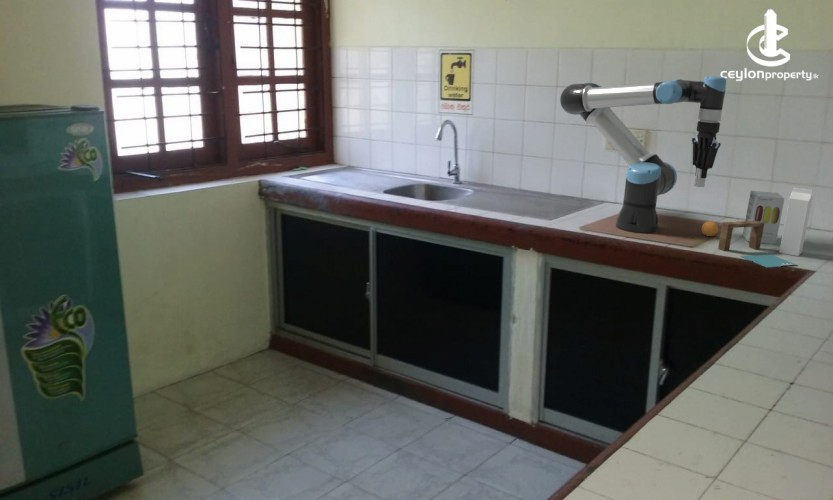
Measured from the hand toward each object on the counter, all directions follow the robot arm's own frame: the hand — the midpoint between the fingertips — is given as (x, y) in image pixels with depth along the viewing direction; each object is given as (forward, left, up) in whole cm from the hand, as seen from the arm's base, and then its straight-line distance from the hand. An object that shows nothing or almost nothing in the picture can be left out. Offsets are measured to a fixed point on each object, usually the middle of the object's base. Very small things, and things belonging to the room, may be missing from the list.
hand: (699, 186), depth 272 cm
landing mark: (0, -39, -16) cm, 42 cm away
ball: (0, -9, -14) cm, 16 cm away
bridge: (0, -25, -16) cm, 30 cm away
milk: (+15, -32, -17) cm, 39 cm away
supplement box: (+16, -16, -17) cm, 28 cm away
